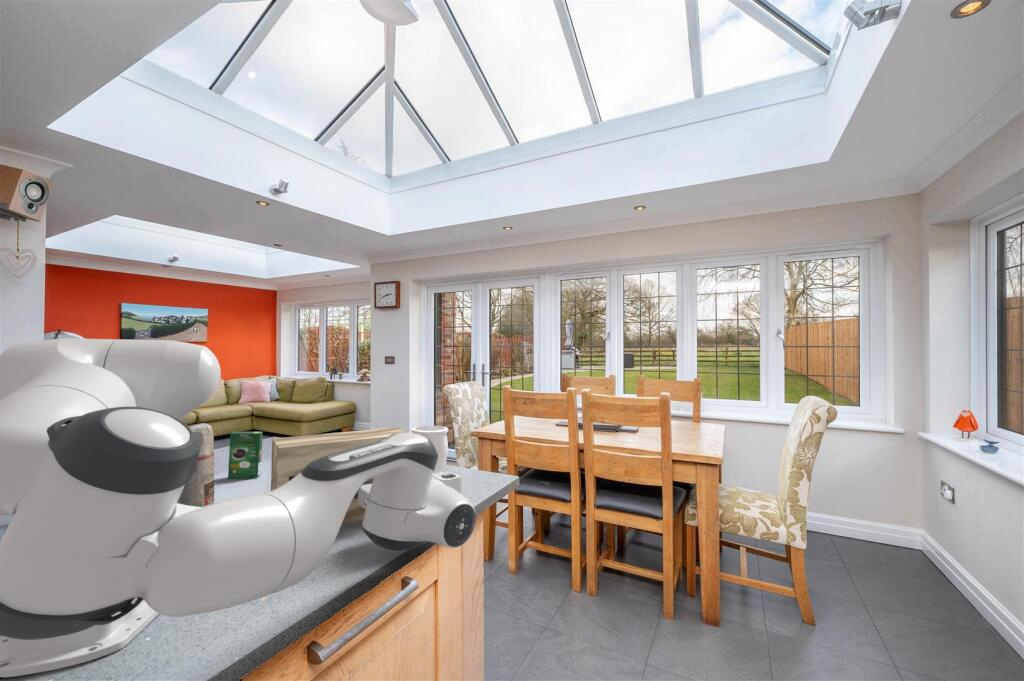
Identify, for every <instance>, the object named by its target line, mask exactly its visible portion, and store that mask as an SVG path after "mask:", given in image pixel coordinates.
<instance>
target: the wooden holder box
mask: <svg viewBox="0 0 1024 681" xmlns="http://www.w3.org/2000/svg"><path fill="white" fill-rule="evenodd" d="M399 433H410V432H408V431H406V430H403V429H401V428H399V427H396V426H395V427H386V428H385V427H384V428H383V427H382V428H375V429H374V428H373V429H363V430H351V431H342V432H331V433H320V434H319V433H318V434H310V435H309V434H307V435H301V436H299V435H297V436H289V437H278V438H277V437H276V438H272V439H271V463H270V464H271V468H270V469H271V470H270V474H271V475H270V491H273V490H275V489H277V488H279V487H281V486H282V485H284V484H286V483H287V482H289V481H290V480H292V478H294V477H296V476H297V475H298V474H299V473H301V471H302V470H303V469H304V468H305V467H306V466H307V465H308V464H309V463H310V462H312V461H314V460H316V459H319V458H321V457H324V456H327V455H330V454H334V453H337V452H340V451H344V450H348V449H351V448H355V447H359V446H363V445H366V444H370V443H374V442H377V441H380V440H383V439H385V438H386V437H388V436H390V435H393V434H399ZM372 482H373V478H371V479H368V480H367V484H372ZM365 510H366V509H365V508H363V507H362V506H360V505H359V503H358V498H356V499H353V500H352V502H351V504H350V506H349V508H348V510H347V512H346V514H345V517H344V519H343V522H342V524H341V526H343V525H347V524H352V523H357V522H360V521H361V522H363V519H364V514H365Z"/></svg>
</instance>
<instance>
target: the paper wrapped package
mask: <svg viewBox="0 0 1024 681" xmlns="http://www.w3.org/2000/svg"><path fill="white" fill-rule="evenodd" d="M189 427H190V428H191V430H192V431H193V433H194V434H195V435H196V437H197V438H198V440H199V442H200V453H199V457H198V461H197V464H196V468H195V470H194V473H193V476H192V478H191V479H190V481H189V482H188V483H186V484H185V486H184V488H183V491H182V493H181V495H180V498H179V500H178V502H177V503H179V504H183V505H188V506H195V507H205V506H209V505H212V504H215V469H214V468H215V463H214V462H215V446H214V444H215V443H214V439H215V438H214V430H213V427H212V425H211V424H208V423H198V424H196V425H193V426H189Z"/></svg>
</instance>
